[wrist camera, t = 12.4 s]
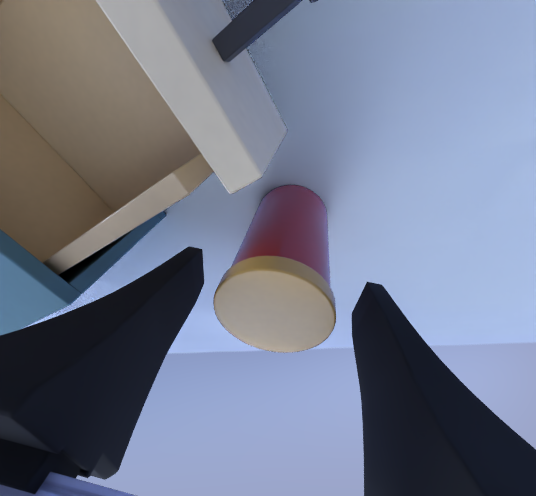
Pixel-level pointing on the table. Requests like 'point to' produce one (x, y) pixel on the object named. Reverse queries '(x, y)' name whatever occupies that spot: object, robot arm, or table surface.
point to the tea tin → (281, 276)
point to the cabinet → (52, 278)
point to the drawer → (125, 114)
